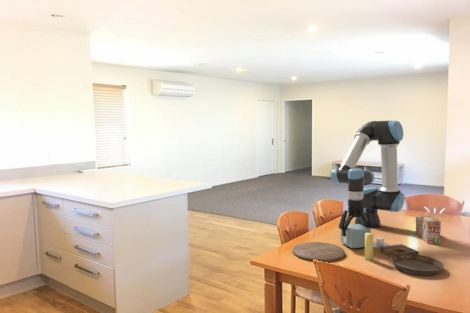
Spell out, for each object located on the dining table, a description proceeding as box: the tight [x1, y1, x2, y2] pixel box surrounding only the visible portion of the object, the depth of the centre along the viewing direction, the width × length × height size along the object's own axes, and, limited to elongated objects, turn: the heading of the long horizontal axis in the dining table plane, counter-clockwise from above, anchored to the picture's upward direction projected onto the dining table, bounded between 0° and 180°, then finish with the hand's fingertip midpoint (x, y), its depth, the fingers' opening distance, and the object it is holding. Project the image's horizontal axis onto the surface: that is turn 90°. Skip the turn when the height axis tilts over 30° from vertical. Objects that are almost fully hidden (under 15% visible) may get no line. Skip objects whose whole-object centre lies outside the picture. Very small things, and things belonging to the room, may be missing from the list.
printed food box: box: [415, 214, 442, 245], centre depth 203 cm, size 21×6×12 cm, turn 169°
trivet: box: [292, 241, 346, 263], centre depth 182 cm, size 25×25×2 cm
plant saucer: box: [389, 254, 444, 276], centre depth 160 cm, size 21×21×3 cm
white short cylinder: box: [373, 237, 390, 249], centre depth 191 cm, size 8×8×4 cm
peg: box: [364, 232, 374, 262], centre depth 171 cm, size 4×4×12 cm
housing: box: [340, 223, 372, 249], centre depth 191 cm, size 11×11×9 cm
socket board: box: [379, 243, 420, 257], centre depth 178 cm, size 12×12×2 cm
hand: (355, 241), depth 191 cm, fingers closed on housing, 11 cm apart
